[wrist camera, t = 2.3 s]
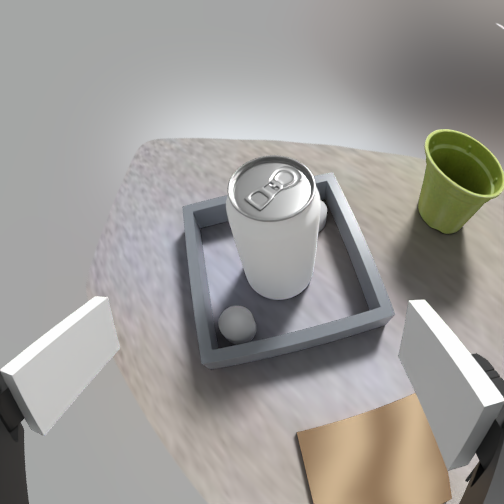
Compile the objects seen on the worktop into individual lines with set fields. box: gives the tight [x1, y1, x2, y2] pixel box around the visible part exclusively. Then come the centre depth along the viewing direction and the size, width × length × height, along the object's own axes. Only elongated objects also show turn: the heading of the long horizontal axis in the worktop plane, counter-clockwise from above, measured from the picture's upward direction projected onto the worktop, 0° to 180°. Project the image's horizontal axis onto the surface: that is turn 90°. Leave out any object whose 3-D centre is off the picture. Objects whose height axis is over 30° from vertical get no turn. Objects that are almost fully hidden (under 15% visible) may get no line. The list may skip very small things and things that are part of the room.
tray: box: [183, 172, 395, 370], centre depth 28 cm, size 16×16×3 cm
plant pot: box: [418, 129, 504, 234], centre depth 27 cm, size 9×9×9 cm
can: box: [226, 155, 321, 300], centre depth 24 cm, size 6×6×12 cm
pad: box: [297, 393, 452, 504], centre depth 19 cm, size 12×12×1 cm
